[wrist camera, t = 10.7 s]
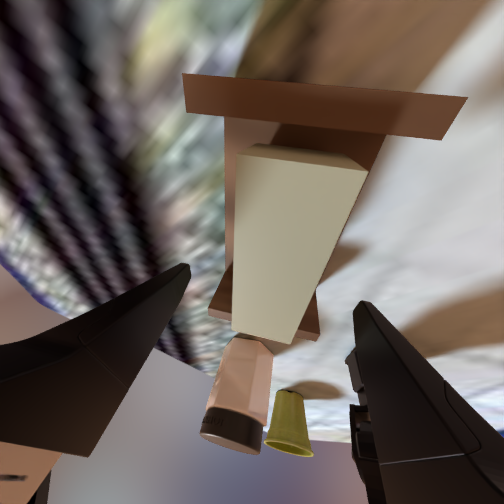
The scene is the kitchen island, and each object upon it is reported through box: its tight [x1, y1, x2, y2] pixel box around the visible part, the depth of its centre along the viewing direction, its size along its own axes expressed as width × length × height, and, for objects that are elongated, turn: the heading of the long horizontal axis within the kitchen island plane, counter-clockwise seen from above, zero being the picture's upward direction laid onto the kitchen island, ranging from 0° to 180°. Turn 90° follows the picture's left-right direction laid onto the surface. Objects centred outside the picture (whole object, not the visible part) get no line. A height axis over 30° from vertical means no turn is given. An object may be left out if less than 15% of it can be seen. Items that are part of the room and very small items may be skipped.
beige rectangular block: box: [231, 143, 368, 345], centre depth 11 cm, size 12×4×4 cm, turn 175°
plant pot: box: [264, 390, 314, 457], centre depth 38 cm, size 9×9×9 cm
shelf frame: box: [182, 73, 468, 341], centre depth 14 cm, size 16×10×6 cm, turn 175°
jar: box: [200, 337, 274, 455], centre depth 28 cm, size 9×8×12 cm
